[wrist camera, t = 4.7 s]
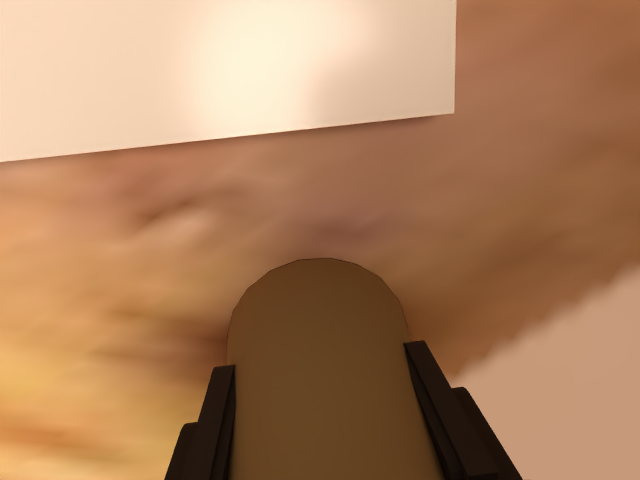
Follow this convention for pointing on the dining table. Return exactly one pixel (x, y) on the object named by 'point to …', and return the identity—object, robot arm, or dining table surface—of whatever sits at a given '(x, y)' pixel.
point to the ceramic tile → (214, 69)
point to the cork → (324, 380)
